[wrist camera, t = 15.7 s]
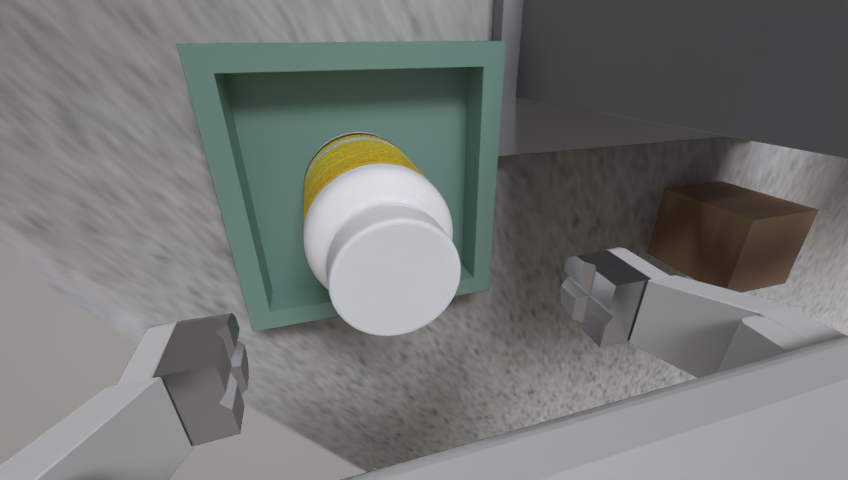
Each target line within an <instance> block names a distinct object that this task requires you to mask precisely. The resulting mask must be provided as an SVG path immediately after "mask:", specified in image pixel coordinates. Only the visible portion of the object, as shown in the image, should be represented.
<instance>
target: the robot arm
mask: <svg viewBox="0 0 848 480" xmlns="http://www.w3.org/2000/svg"><path fill="white" fill-rule="evenodd" d="M564 272H565V274H566V275H567V278H566V280H565V281H564V282H563V284H562V285H561V290H560V300H561V304H562V307H563V309H564V310H565V312H566V313H567V314H568V316H569V317H570V318H571V319H573V320H576V321H578V322H580V323H582V327H583V331H584V332H585V333H586V334H587V335H588V336H589V337H590V338H591V339H592V340H593V341H594V342H595V343H596V344H597V345H598V346H599V347H603V346H608V345H613V344H617V343H622V342H627V341H629V343H631V344H633V345H635V346H637V347H639V348H641V349H642V350H644V351H646V352H648V353H650V354H652V355H654V356H656V357H658V358H660V359H662V360H664V361H666V362H668V363H670V364H672V365H674V366H676V367H678V368H680V369H681V370H683V371H685V372H687V373H689V374H691V375H693V376H695V377H697V379H693V380H690V381H686V382H683V383H679V384H676V385H672V386H669V387H665V388H661V389H658V390H654V391H651V392H647V393H644V394H640V395H637V396H633V397H630V398H626V399H623V400H619V401H616V402H612V403H609V404H605V405H602V406H598V407H595V408H591V409H588V410H584V411H581V412H577V413H574V414H570V415H567V416H563V417H560V418H556V419H553V420H549V421H545V422H542V423H538V424H535V425H531V426H528V427H524V428H521V429H517V430H514V431H510V432H507V433H503V434H500V435H496V436H493V437H489V438H486V439H482V440H479V441H475V442H472V443H468V444H465V445H461V446H458V447H454V448H451V449H447V450H444V451H440V452H437V453H433V454H430V455H426V456H423V457H419V458H416V459H412V460H409V461H405V462H402V463H398V464H395V465H391V466H388V467H384V468H381V469H377V470H374V471H370V472H367V473H363V474H360V475H356V476H352V477H349V478H345V479H342V480H848V336H846V335H844V334H842V333H840V332H838V331H837V330H835V329H833V328H831V327H829V326H827V325H825V324H823V323H822V322H820V321H818V320H816V319H814V318H812V317H810V316H808V315H806V314H805V313H803V312H801V311H799V310H797V309H795V308H793V307H791V306H789V305H786V304H782V303H778V302H774V301H771V300H767V299H763V298H759V297H756V296H752V295H748V294H744V293H740V292H737V291H733V290H729V289H725V288H722V287H718V286H714V285H710V284H707V283H703V282H699V281H695V280H691V279H688V278H684V277H680V276H676V275H673V276H669V275H668V274H666V273H664V272H663V271H661V270H660V269H658V268H656V267H655V266H653V265H651V264H650V263H648V262H647V261H645V260H643V259H642V258H640V257H638V256H637V255H635V254H634V253H632V252H630V251H629V250H627V249H625V248H621V247H617V248H612V249H607V250H602V251H599V252H593V253H588V254H583V255H577V256H572V257H569V258H568V260H567V261H566V263H565V268H564ZM238 333H239V326H238V323H237V320H236V317H235V316H234V315H233V314H232V313H230V314H223V315H216V316H209V317H203V318H196V319H189V320H183V321H180V322H179V321H176V322H170V323H164V324H158V325H153V326H151V327H149V328H148V329H147V330H146V332H145V333H144V335H143V337H142V339H141V341H140V343H139V344H138V346H137V348H136V350H135V352H134V354H133V355H132V357H131V359H130V361H129V363H128V365H127V366H126V368H125V370H124V372H123V374H122V376H121V377H120V379H119V381H118V383H117V385H115V386H111V387H106V388H105V389H104V390H102V391H101V392H99V393H98V394H97V395H95V396H94V397H93V398H91V399H90V400H89V401H87V402H86V403H84V404H83V405H82V406H80V407H79V408H78V409H76V410H75V411H74V412H72V413H71V414H70V415H68V416H67V417H66V418H64V419H63V420H61V421H60V422H59V423H57V424H56V425H54V426H53V427H52V428H50V429H49V430H48V431H46V432H45V433H44V434H42V435H41V436H39V437H38V438H37V439H35V440H34V441H33V442H31V443H30V444H29V445H27V446H26V447H24V448H23V449H22V450H20V451H19V452H18V453H16V454H15V455H14V456H12V457H11V458H10V459H8V460H7V461H5V462H4V463H3V464H1V465H0V480H169V479H170V477H171V476H172V475H173V473H174V472H175V471H176V469H177V468H178V467H179V466H180V464H181V463H182V462H183V461H184V459H185V458H186V457H187V455H188V454H189V453H190V451H191V450H192V446H195V445H199V444H203V443H206V442H210V441H214V440H217V439H222V438H225V437H229V436H233V435H236V434H240V431H241V424H242V419H243V412H244V402H243V399H242V396H241V395H242V394H243V393H244V392H245V390H246V389H247V386H248V379H249V369H248V359H247V353H246V350H245V346H244V344H242V343H241V342H239V341H237V338H238Z"/></svg>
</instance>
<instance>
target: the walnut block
mask: <svg viewBox="0 0 848 480" xmlns="http://www.w3.org/2000/svg"><path fill="white" fill-rule="evenodd" d="M817 212H818V210H817V209H814V208H810V207H807V206H804V205H800V204H797V203H793V202H790V201H787V200H783V199H780V198H776V197H773V196H770V195H766V194H763V193H759V192H756V191H753V190H749V189H746V188H742V187H739V186H736V185H732V184H729V183H725V182H722V181H720V182H712V183H704V184H696V185H688V186H680V187H672V188H665V190H664V193H663V197H662V201H661V205H660V208H659V212H658V216H657V220H656V223H655V227H654V231H653V235H652V238H651V242H650V246H649V250H648V253H649V254H651V255H652V256H654V257H656V258H658V259H659V260H661V261H663V262H665V263H666V264H668V265H670V266H672V267H673V268H675V269H677V270H679V271H680V272H682V273H684V274H686V275H687V276H689V277H691V278H693V279H695V280H696V281H699V282H703V283H707V284H710V285H714V286H718V287H722V288H725V289H729V290H733V291H737V292H740V293H741V292H746V291H750V290H755V289H760V288H764V287H769V286H774V285H778V284H783V283H785V282H786V279H787V277H788V275H789V273H790V271H791V269H792V266H793V264H794V262H795V260H796V258H797V256H798V253H799V251H800V249H801V247H802V245H803V243H804V240H805V238H806V236H807V234H808V232H809V229H810V227H811V225H812V223H813V221H814V219H815V216H816V214H817Z"/></svg>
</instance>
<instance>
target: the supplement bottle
mask: <svg viewBox="0 0 848 480" xmlns="http://www.w3.org/2000/svg"><path fill="white" fill-rule="evenodd" d="M303 202H304V211H303V241H304V249H305V254H306V258H307V261H308V264H309V266H310V268H311V270H312V272H313V273H314V275H315V276H316V278H317V279H318V280H319V282H320V283H321V284H322V285H323V286H324V287H325V288H327V289H328V291H329V296H330V299H331V302H332V304H333V306H334V308H335V310H336V311H337V313H338V314H339V315H340V316H341V318H342V319H343V320H344V321H345V322H347V323H348V324H349V325H351V326H352V327H354V328H355V329H357V330H360V331H362V332H365V333H368V334H373V335H377V336H395V335H402V334H405V333H409V332H412V331H415V330H417V329H419V328H421V327H423V326H425V325H427V324H428V323H430V322H431V321H433V320H434V319H435V318H437V317H438V316H439V315H440V314H441V313H442V312H443V311H444V310H445V309H446V308H447V306H448V305H449V304H450V302H451V301H452V299H453V297H454V295H455V293H456V291H457V288H458V285H459V281H460V274H461V265H460V259H459V255H458V252H457V249H456V247H455V245H454V244H453V242H452V238H453V225H452V219H451V215H450V212H449V209H448V207H447V204H446V202H445V201H444V199H443V197H442V196H441V194H440V193H439V192H438V190H437V189H436V188H435V187H434V186H433V185H432V184H431V183H430V182H429V181H428V180H427V179H426V178H425V176H424V175H423V174H422V173H421V172H420V171H419V170H418V169H417V168H416V167H415V166H414V165H413V164H412V163H411V162H410V161H409V159H408V158H407V157H406V156H405V155H404V154H403V153H402V152H401V151H400V150H399V149H398V148H397V147H396V146H395V145H394V144H392V143H391V142H390V141H388V140H387V139H385V138H383V137H381V136H378V135H375V134H372V133H367V132H351V133H345V134H342V135H339V136H336V137H334V138H332V139H331V140H329V141H328V142H326V143H325V144H324V145H322V146H321V147H320V148H319V149H318V151H317V152H316V153H315V154H314V156H313V157H312V159H311V160H310V162H309V165H308V167H307V170H306V174H305V179H304V200H303Z"/></svg>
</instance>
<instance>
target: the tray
mask: <svg viewBox="0 0 848 480" xmlns="http://www.w3.org/2000/svg"><path fill="white" fill-rule="evenodd" d="M177 48H178V52H179V56H180V60H181V63H182V67H183V71H184V75H185V78H186V82H187V86H188V90H189V93H190V97H191V101H192V105H193V108H194V112H195V116H196V120H197V123H198V127H199V131H200V135H201V138H202V142H203V146H204V150H205V153H206V157H207V161H208V165H209V169H210V172H211V176H212V180H213V184H214V187H215V191H216V195H217V199H218V202H219V206H220V210H221V214H222V217H223V221H224V225H225V229H226V232H227V236H228V240H229V244H230V247H231V251H232V255H233V259H234V263H235V266H236V270H237V274H238V278H239V281H240V285H241V289H242V293H243V296H244V300H245V304H246V308H247V311H248V315H249V319H250V323H251V326H252V330H253V331H259V330H264V329H270V328H276V327H282V326H287V325H293V324H299V323H304V322H310V321H316V320H321V319H327V318H333V317H338V316H340V315H339V314H338V313H337V311H336V310H335V308H334V306H333V304H332V302H331V299H330V296H329V291H328V289H327V288H325V287H324V286H323V285H322V284H321V283H320V282H319V280H318V279H317V278H316V276H315V275H314V273H313V272H312V270H311V268H310V266H309V264H308V261H307V258H306V254H305V249H304V241H303V211H304V202H303V200H304V179H305V174H306V170H307V167H308V165H309V162H310V160H311V159H312V157H313V156H314V154H315V153H316V152H317V151H318V149H319V148H320V147H321V146H322V145H324V144H325V143H326V142H328V141H329V140H331V139H332V138H334V137H336V136H339V135H342V134H345V133H351V132H367V133H372V134H375V135H378V136H381V137H383V138H385V139H387V140H388V141H390V142H391V143H392V144H394V145H395V146H396V147H397V148H398V149H399V150H400V151H401V152H402V153H403V154H404V155H405V156H406V157H407V158H408V159H409V161H410V162H411V163H412V164H413V165H414V166H415V167H416V168H417V169H418V170H419V171H420V172H421V173H422V174H423V175H424V176H425V178H426V179H427V180H428V181H429V182H430V183H431V184H432V185H433V186H434V187H435V188H436V189H437V190H438V192H439V193H440V194H441V196H442V197H443V199H444V201H445V202H446V204H447V207H448V209H449V212H450V215H451V219H452V225H453V238H452V242H453V244H454V245H455V247H456V249H457V252H458V255H459V259H460V265H461V274H460V281H459V285H458V288H457V291H456V293H455V295H454V296H458V295H464V294H469V293H475V292H481V291H487V290H489V283H490V268H491V254H492V239H493V224H494V210H495V195H496V180H497V166H498V151H499V136H500V122H501V107H502V92H503V78H504V63H505V48H506V41H437V42H326V43H216V44H177Z"/></svg>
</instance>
